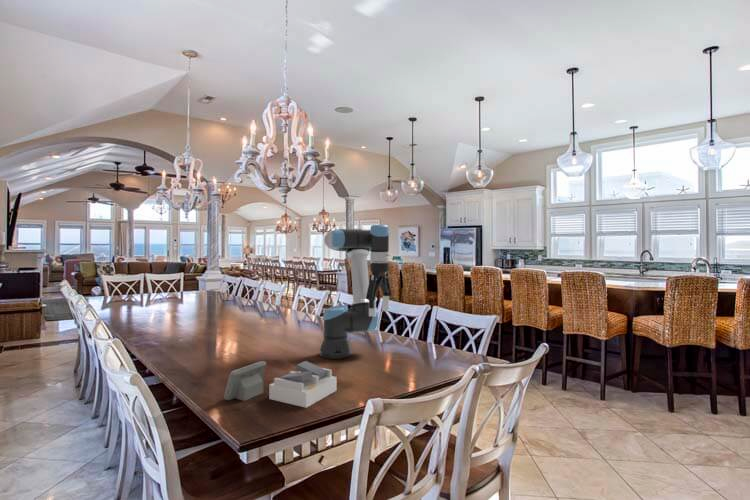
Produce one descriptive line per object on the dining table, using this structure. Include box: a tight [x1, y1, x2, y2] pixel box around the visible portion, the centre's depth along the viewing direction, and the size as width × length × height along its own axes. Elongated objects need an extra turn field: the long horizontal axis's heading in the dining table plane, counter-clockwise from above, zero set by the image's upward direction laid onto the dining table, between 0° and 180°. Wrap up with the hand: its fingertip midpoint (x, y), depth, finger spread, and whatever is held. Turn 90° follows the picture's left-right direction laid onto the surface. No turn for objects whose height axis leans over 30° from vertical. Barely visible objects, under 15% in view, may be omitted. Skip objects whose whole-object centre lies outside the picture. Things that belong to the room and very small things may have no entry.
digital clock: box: [223, 360, 267, 402], centre depth 144 cm, size 16×9×11 cm, turn 139°
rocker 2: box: [295, 360, 327, 379], centre depth 149 cm, size 10×5×2 cm, turn 62°
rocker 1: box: [279, 371, 312, 382], centre depth 141 cm, size 10×5×2 cm, turn 62°
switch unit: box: [268, 367, 338, 409], centre depth 145 cm, size 16×18×7 cm
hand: (379, 313), depth 167 cm, fingers open, 13 cm apart
